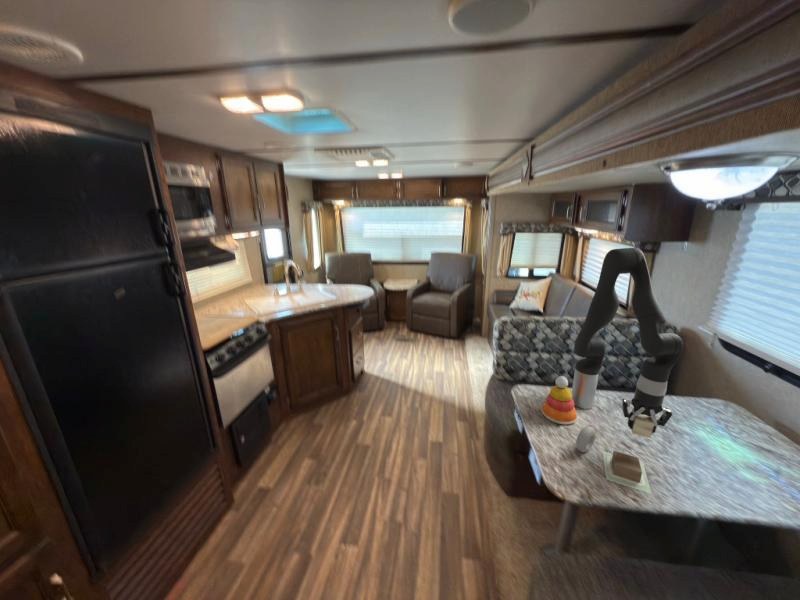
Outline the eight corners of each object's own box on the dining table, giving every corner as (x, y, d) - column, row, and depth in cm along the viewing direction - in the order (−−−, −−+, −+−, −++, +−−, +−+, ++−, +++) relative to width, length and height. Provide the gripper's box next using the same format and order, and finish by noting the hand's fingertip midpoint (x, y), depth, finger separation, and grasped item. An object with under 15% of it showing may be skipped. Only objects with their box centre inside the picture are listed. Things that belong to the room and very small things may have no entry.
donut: (581, 459, 109) (585, 436, 107) (572, 453, 112) (576, 430, 109) (595, 447, 115) (599, 425, 112) (585, 442, 117) (589, 420, 115)
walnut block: (611, 459, 108) (613, 450, 107) (636, 467, 104) (638, 457, 103) (613, 474, 102) (615, 464, 101) (639, 482, 98) (642, 472, 97)
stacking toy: (569, 407, 138) (575, 369, 133) (583, 428, 125) (590, 386, 119) (536, 405, 140) (541, 367, 135) (546, 425, 127) (552, 384, 121)
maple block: (630, 424, 110) (633, 410, 109) (647, 428, 108) (651, 414, 106) (632, 433, 106) (636, 419, 104) (650, 437, 104) (654, 423, 102)
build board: (602, 452, 112) (602, 450, 112) (642, 464, 106) (643, 462, 106) (605, 481, 100) (606, 478, 100) (651, 496, 95) (651, 493, 94)
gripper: (675, 388, 102) (663, 429, 107) (623, 378, 108) (614, 417, 113) (681, 400, 95) (669, 443, 101) (626, 388, 102) (617, 430, 107)
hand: (640, 429), depth 107 cm, fingers closed on maple block, 5 cm apart
